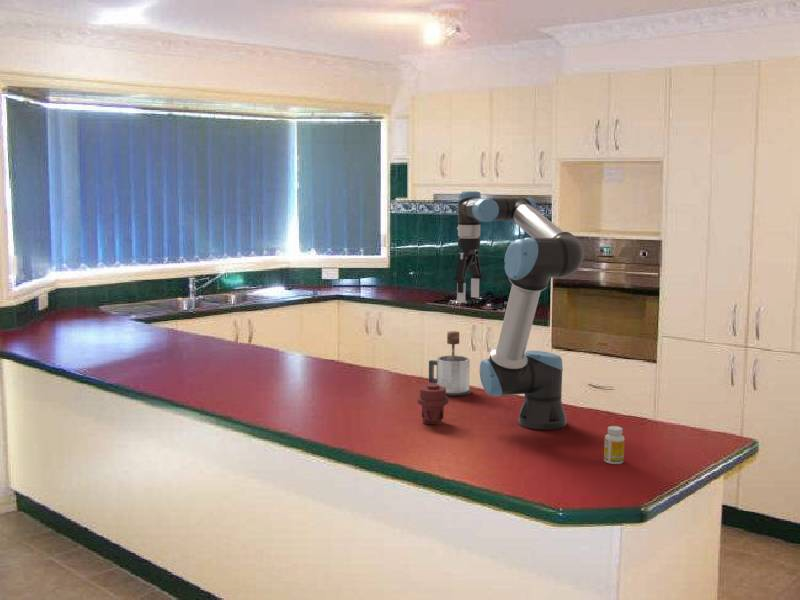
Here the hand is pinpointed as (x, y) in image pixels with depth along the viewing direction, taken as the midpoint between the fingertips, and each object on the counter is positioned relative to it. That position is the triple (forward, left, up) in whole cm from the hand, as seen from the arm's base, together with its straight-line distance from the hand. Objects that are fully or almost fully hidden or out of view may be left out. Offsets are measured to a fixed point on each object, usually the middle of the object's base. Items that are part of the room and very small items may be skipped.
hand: (468, 299), depth 304 cm
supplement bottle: (-58, +41, -37) cm, 80 cm away
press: (+12, -15, -37) cm, 42 cm away
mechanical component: (+2, +25, -37) cm, 45 cm away
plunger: (+11, -15, -35) cm, 40 cm away
